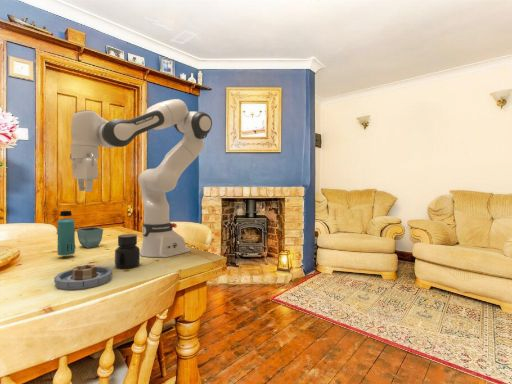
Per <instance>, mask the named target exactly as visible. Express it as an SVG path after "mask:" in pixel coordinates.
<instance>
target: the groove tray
mask: <svg viewBox="0 0 512 384" xmlns="http://www.w3.org/2000/svg"><path fill="white" fill-rule="evenodd" d="M95 266H96V277H95V278H92V279H87V280H79V281H76V280H73V268H72V269H68V270H65V271H62V272H59V273H58V274H57V275H55V276H54V284H55V288H56V289H59V290H64V291H79V290H87V289H91V288H96V287H100V286H103V285H105V284H107V283H108V282H111V280H112V277H113V270H112V269H111V268H109V267H108V266H107V267H106V266H98V265H95Z"/></svg>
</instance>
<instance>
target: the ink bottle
mask: <svg viewBox="0 0 512 384" xmlns="http://www.w3.org/2000/svg"><path fill="white" fill-rule="evenodd" d="M137 240H138V234H134V233H125V234H124V233H123V234H119V235H117V244H118V246H117V248H115V252H114V266H115V268H117V269H121V270H123V269H124V270H125V269H130V268H131V269H132V268H136V267H139V266H140V265H141V264H140V262H141V261H140V260H141V258H140V257H141V255H140V252H141V248H139V246H138V245H137V244H138V241H137Z"/></svg>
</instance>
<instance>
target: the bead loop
mask: <svg viewBox="0 0 512 384" xmlns="http://www.w3.org/2000/svg"><path fill="white" fill-rule="evenodd" d="M96 266H97V265H95V264H83V265H76V266H75V267H73V268H72V269H73V280H76V281H79V280H87V279H92V278H95V277H96Z"/></svg>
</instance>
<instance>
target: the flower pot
mask: <svg viewBox="0 0 512 384" xmlns="http://www.w3.org/2000/svg"><path fill="white" fill-rule="evenodd" d="M76 233H77V239H78V242H79V244H80V245H81V246H82V247H83V248H87V249H90V248H97V247H98V246H99V245H100V244H101V242H102V238H103V235H104V234H103V233H104V228H101V227H96V226H92V227H91V226H90V227H84V228H83V227H82V228H77V229H76Z"/></svg>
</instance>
